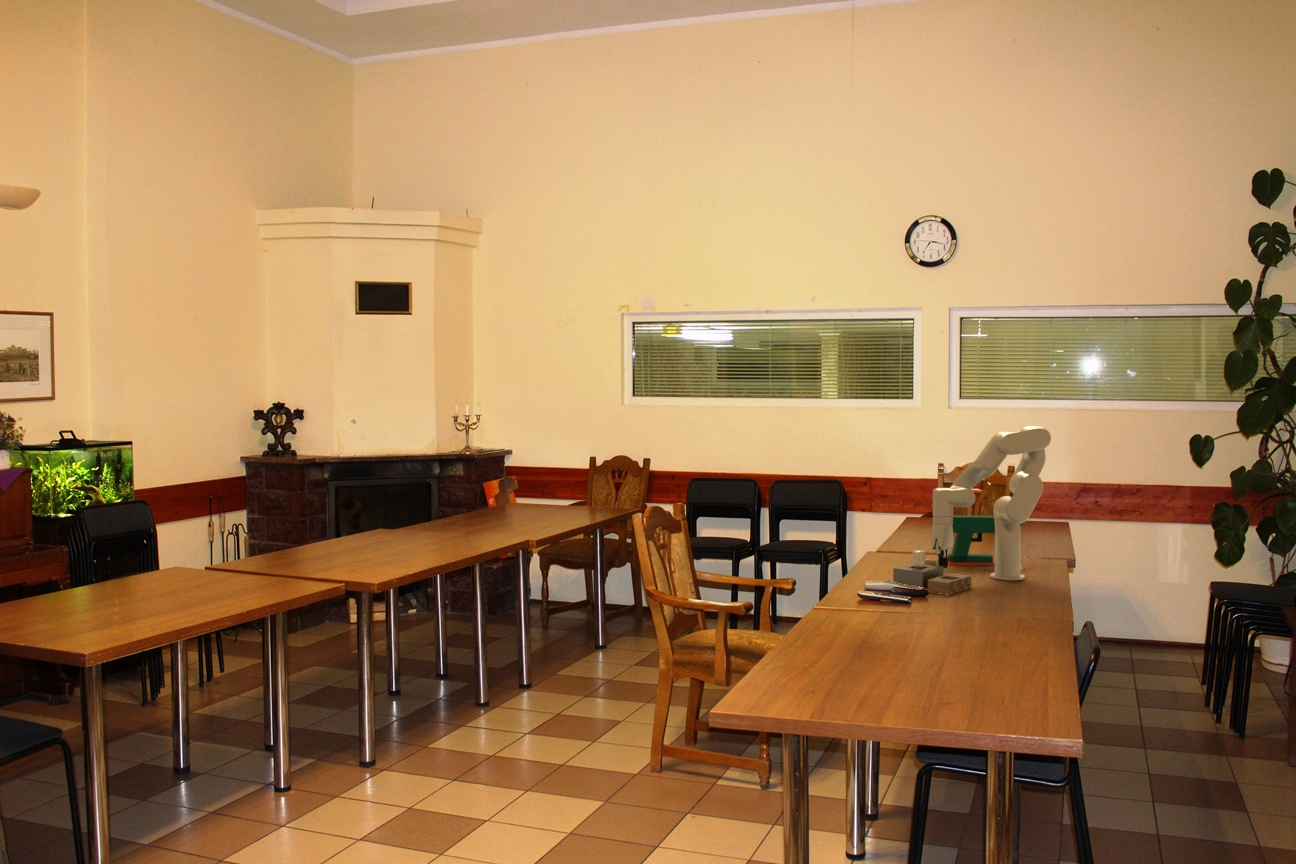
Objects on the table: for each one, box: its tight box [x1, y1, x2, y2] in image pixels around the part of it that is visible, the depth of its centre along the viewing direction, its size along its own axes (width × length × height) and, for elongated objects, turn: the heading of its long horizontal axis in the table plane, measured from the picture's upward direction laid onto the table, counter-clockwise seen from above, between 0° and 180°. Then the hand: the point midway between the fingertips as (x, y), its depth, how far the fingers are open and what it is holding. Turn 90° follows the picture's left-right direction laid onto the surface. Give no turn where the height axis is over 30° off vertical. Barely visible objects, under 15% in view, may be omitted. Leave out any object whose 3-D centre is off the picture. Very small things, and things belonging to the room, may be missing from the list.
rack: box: [927, 573, 972, 595], centre depth 387 cm, size 18×8×4 cm, turn 138°
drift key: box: [925, 558, 938, 566], centre depth 401 cm, size 8×5×7 cm, turn 138°
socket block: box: [892, 562, 945, 589], centre depth 396 cm, size 16×12×7 cm
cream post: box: [912, 549, 926, 569], centre depth 395 cm, size 4×4×13 cm
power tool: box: [948, 514, 1027, 566], centre depth 442 cm, size 32×7×20 cm, turn 84°
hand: (943, 567), depth 409 cm, fingers closed
